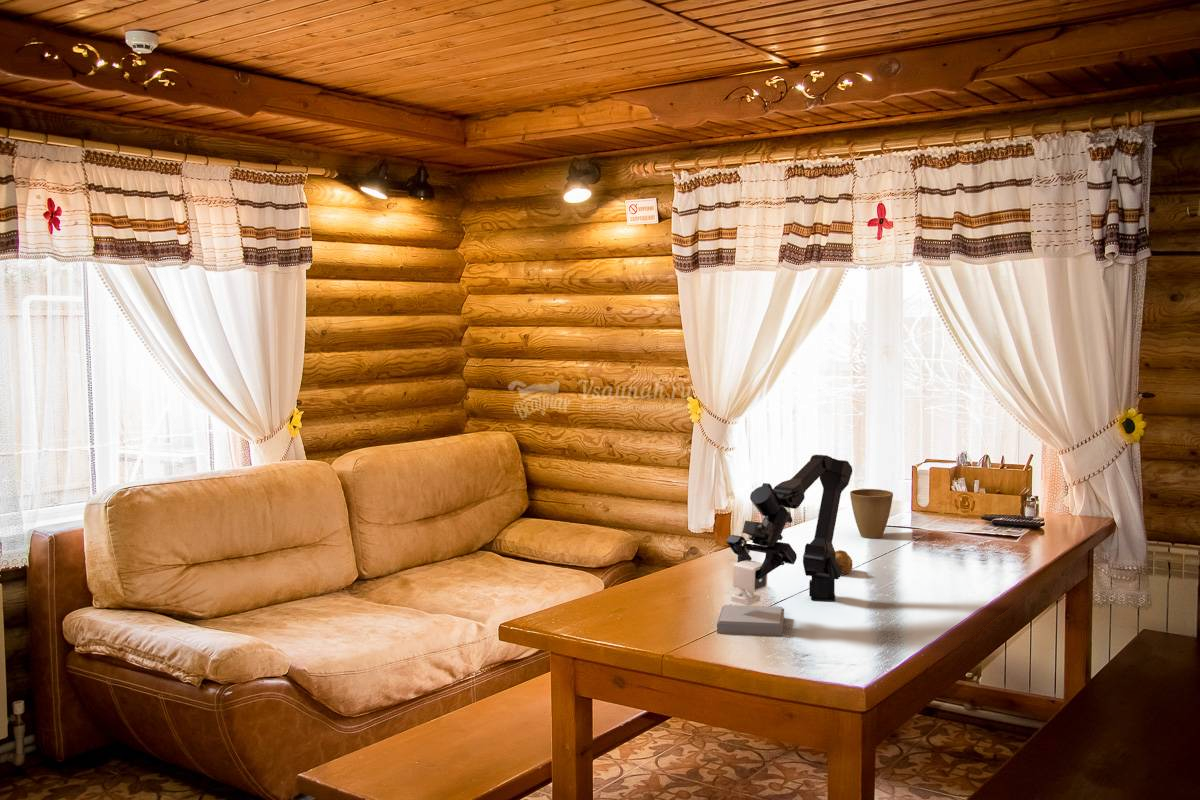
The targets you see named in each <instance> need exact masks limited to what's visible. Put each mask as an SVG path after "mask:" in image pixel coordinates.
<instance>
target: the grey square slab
mask: <svg viewBox="0 0 1200 800" xmlns="http://www.w3.org/2000/svg"><path fill="white" fill-rule="evenodd" d="M784 620H785V608H784V607H782V606H770V605H769V606H764V605H737V604H724V605H722V608H721V611H720V613H719V615H718V619H717V621H716V633H717V634H727V633H729V634H730V635H731V634H732V635H734V634H735V635H752V636H753V635H756V636H778V637H780V636H781V637H782V636H783V630H784V622H785V621H784Z"/></svg>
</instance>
